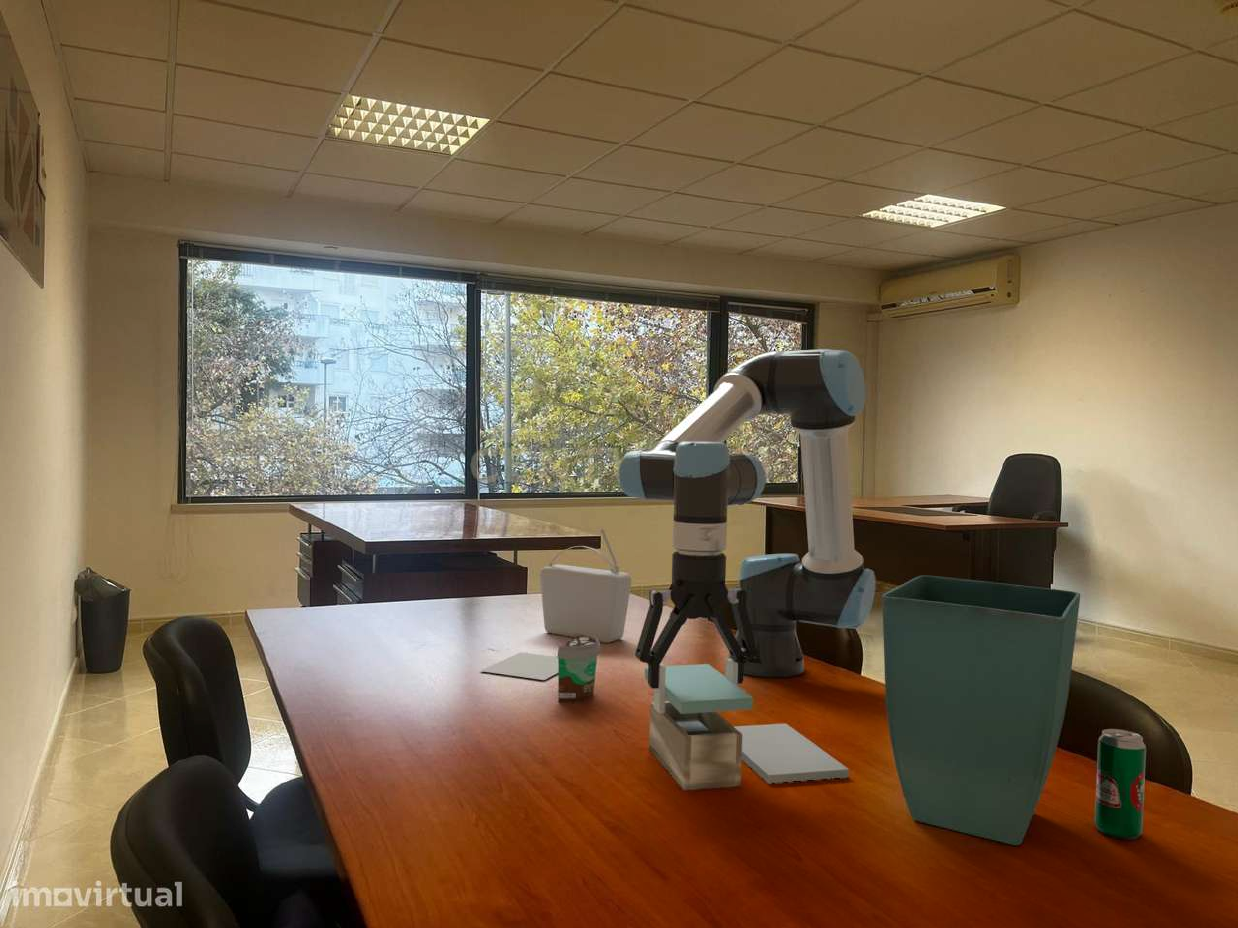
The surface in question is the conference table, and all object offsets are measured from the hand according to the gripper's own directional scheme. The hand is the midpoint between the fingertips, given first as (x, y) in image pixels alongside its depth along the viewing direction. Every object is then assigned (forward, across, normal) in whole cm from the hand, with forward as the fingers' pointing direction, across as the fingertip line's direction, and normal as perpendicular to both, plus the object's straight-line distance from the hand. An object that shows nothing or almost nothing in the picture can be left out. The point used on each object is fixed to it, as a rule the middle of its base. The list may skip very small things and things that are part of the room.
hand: (695, 708), depth 127 cm
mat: (+8, +14, +2) cm, 16 cm away
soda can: (+9, +44, -30) cm, 54 cm away
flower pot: (+9, +29, -23) cm, 38 cm away
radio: (+9, +3, +83) cm, 83 cm away
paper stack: (+9, -15, +63) cm, 65 cm away
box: (+8, 0, 0) cm, 8 cm away
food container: (+9, -8, +36) cm, 38 cm away
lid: (-2, 0, 0) cm, 2 cm away
